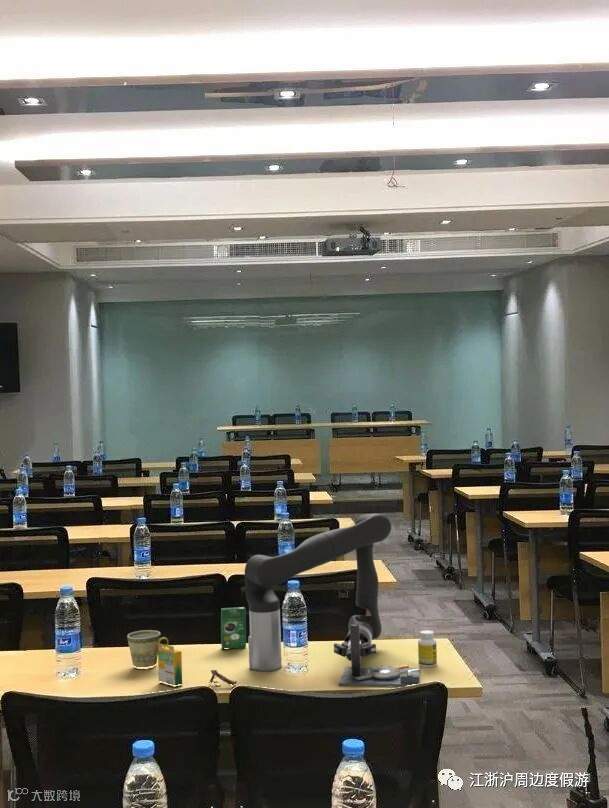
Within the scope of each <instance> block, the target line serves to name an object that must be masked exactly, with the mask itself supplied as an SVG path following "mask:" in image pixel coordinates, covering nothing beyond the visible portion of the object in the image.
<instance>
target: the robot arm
mask: <svg viewBox="0 0 609 808" xmlns="http://www.w3.org/2000/svg"><path fill="white" fill-rule="evenodd" d="M391 532H392V523H391V520H390V519H389V518H388V517H387V516H385V515H384V514H381V513H366V514H365V513H364V514H361V515H360V516H358V517H357V518H356V521H355V523H354V524H353V525H351V526H348V527H339V528H336V529H331V530H327V531H324V532H320V533H317V534H315V535H313V536H310V537H309V538H307V539H305V540H304V541H302V542H301V543H300V544H299V545H297V547H296V548H295V549H293V550H292V551H289V552H286V553H283V554H281V555H277V556H269V555H263V554H255V555H252V556H251V557H249V559H248V560H247V561H246V564H245V567H244V588H245V598H246V601H247V605H248V612H249V613H248V614H249V615H248V616H249V635H248V639H247V640H248V643H247V644H248V665H249V667H248V668H249V670H255V671H260V672H262V671H263V672H265V671H267V672H268V671H275V670H277V669H280V668H282V666H283V665H282V659H283V657H282V639H281V637H282V636H281V634H282V633H281V631H282V630H281V612H280V611H281V608H280V605H281V603H280V599H279V597H278V596H277V595H276V593H275V592H274V588H275V587H277V586H279V585H281V584H282V583H285V582H286V581H287V580H289V579H291V578H293V577H295V576H297V575H299V574H301V573H305V572H307V571H310V570H313V569H314V568H317V567H320V566H322V565H325V564H327V563H330V562H332V561H334V560H336V559H339V558H341V557H343V556H345V555H348V554H349V553H351V552H353V551H355V552H356V553H355V555H356V557H355V558H356V569H357V571H356V575H357V576H356V591H355V606H357V607H358V608H359V607H360V608H362V609H365V610H367V611H369V612H370V615H364V614H363V615H360V614H355V615H352V616H351V617H350V618H349V621H348V623H347V624H348V626H347V627H348V632H347V635H346V636H345V638H344V641H343V642H342V643H340V644H339V643H333V653H334V654H336V655H339V656H341V657H344V658H346V660H348V661H350V662H351V642H350V625H351V624H359V632H360V658H364V657H368V656H371V655H375V654H377V644H376V643H372V641H373V640H376V639H378V638H379V637H380V636H381V634H382V623H381V617H380V614H379V601H378V598H379V577H378V573H377V569H376V565H375V563H374V562H375V561H374V553H373V551H374V544H376V543H380V542H383V541H385V540H386V539H387V538H388V537H389V535H390V534H391Z"/></svg>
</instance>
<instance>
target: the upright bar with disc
mask: <svg viewBox="0 0 609 808" xmlns="http://www.w3.org/2000/svg"><path fill="white" fill-rule="evenodd" d="M350 642H351V661H350V663H351V666H350V667H351V670H352V676H353V677H355V679H357V680H360V679H365V678H370V677H371V678H374V679H393V678H397V677H399V676H400V669H405V668H410V667H409V665H408V664H403V665H399V666H394V665H393V666H392V665H377V666H376V665H375V666H370V667H371V668H369V669H368V673H365V674H361V667H362V666H361V665H362V664H361V662H362V661H361V657H360V632H359V624H351V625H350Z"/></svg>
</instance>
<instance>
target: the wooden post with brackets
mask: <svg viewBox="0 0 609 808" xmlns="http://www.w3.org/2000/svg"><path fill="white" fill-rule="evenodd" d="M210 673H211V678H210V680H209V682H208V684H209V683H210V682H211V684H212V683H213V682H214V683H217V682H218V680H216V681H215V680H214V679H216V678H218V679H220V681H223V682H224V683H226V684H228V685H229V684H232V685H234V684H236V685H237V682H238V681H237V680H235V681H234V680H232V679H228V678H227V677H226V676H224V675H222V674H221V673H219V672H218V670H216V669H211V670H210Z"/></svg>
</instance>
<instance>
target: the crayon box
mask: <svg viewBox="0 0 609 808" xmlns="http://www.w3.org/2000/svg"><path fill="white" fill-rule="evenodd" d="M165 646H166V647H165ZM163 647H165V648H163ZM182 654H183V653H182V651H181V650H177V649H175V647H174V646H173V645H169V644H168V645H167V644H164V643H161V642H160V643H158V656H157V661H158V662H157V663H158V665H157V666H158V670H157V671H158V682H159V681H162V682H166V683H168V684H172V685H178V684H182V685H183V665H182V663H183V661H182V660H183V658H182V656H183V655H182Z"/></svg>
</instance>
